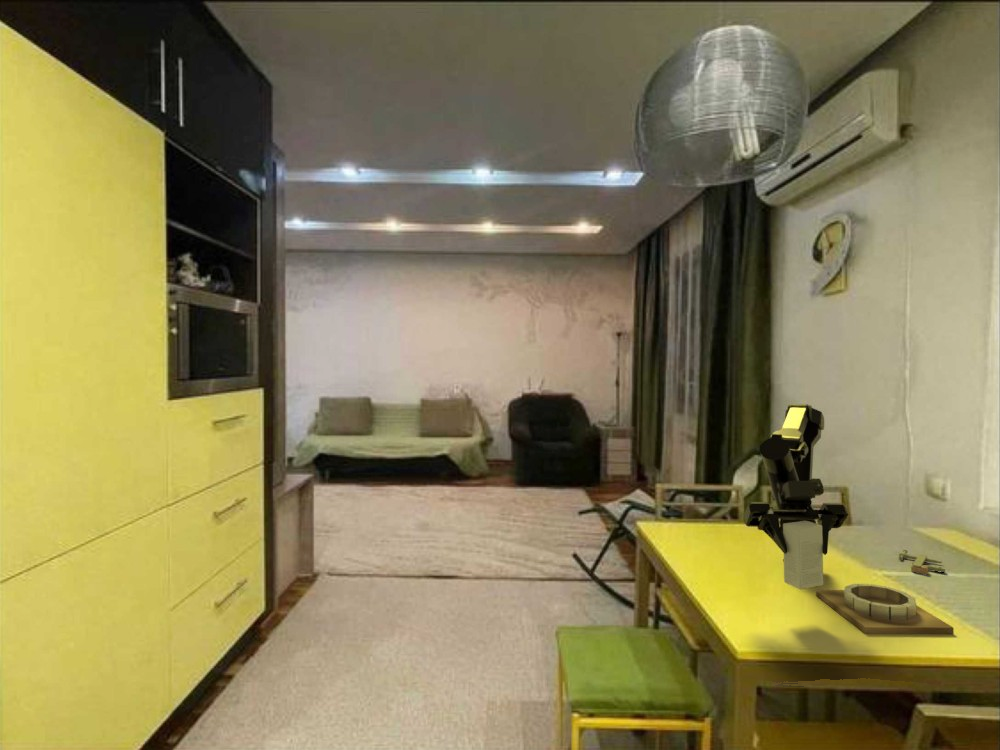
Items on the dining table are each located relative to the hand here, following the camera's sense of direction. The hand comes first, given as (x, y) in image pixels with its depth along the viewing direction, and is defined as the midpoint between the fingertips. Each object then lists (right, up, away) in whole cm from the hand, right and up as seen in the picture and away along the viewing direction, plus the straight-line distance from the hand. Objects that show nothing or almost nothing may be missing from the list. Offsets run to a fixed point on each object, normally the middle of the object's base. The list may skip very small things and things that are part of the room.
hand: (805, 553), depth 113 cm
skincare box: (0, -7, +1) cm, 7 cm away
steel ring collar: (+16, -12, +3) cm, 20 cm away
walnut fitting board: (+16, -13, +3) cm, 21 cm away
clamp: (+45, -13, +30) cm, 56 cm away
